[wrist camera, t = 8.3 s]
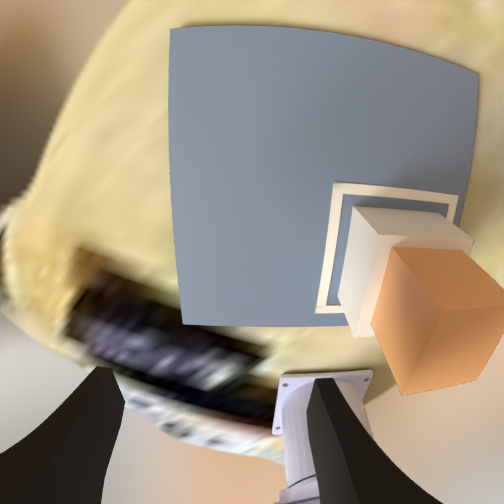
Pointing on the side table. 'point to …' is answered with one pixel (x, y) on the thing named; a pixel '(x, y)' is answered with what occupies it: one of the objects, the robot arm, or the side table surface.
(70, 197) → the side table surface
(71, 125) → the side table surface
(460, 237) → the base block
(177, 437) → the side table surface
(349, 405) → the robot arm
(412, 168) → the board
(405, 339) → the orange block
